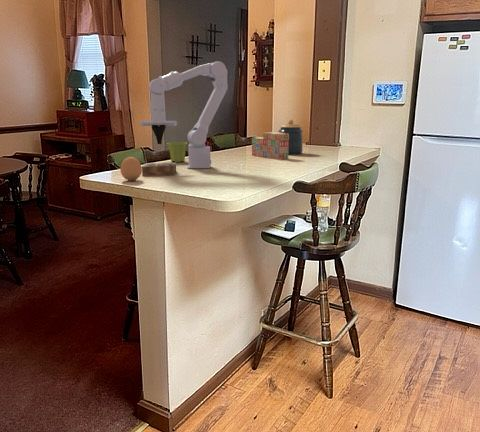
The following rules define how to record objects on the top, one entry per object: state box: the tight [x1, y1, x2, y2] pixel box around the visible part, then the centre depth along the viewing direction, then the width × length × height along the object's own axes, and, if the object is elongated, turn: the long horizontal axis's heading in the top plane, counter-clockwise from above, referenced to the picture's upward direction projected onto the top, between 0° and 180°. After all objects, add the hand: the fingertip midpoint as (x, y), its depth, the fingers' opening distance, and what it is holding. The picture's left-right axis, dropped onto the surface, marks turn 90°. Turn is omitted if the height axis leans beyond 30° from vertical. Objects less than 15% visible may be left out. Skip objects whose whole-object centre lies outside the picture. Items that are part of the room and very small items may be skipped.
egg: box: [120, 156, 142, 182], centre depth 167 cm, size 7×7×8 cm
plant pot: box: [166, 141, 188, 163], centre depth 218 cm, size 9×9×9 cm
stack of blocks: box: [251, 131, 290, 160], centre depth 234 cm, size 21×6×12 cm, turn 37°
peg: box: [159, 162, 170, 165], centre depth 184 cm, size 4×4×4 cm
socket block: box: [141, 162, 177, 177], centre depth 184 cm, size 12×10×4 cm
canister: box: [277, 119, 304, 155], centre depth 249 cm, size 13×13×18 cm
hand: (159, 143), depth 193 cm, fingers closed
